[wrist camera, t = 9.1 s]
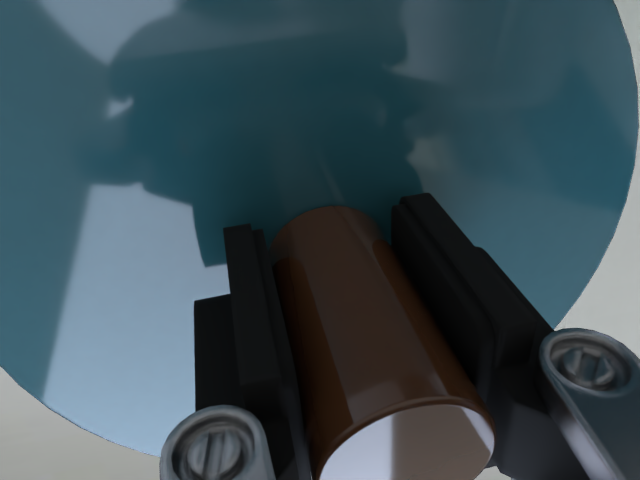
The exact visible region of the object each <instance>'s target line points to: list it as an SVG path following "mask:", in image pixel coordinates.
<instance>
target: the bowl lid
mask: <svg viewBox="0 0 640 480" xmlns="http://www.w3.org/2000/svg"><path fill="white" fill-rule="evenodd" d="M638 129H639V119H638V87H637V82H636V76H635V70H634V65H633V59H632V54H631V48H630V45H629V42H628V39H627V36H626V33H625V30H624V27H623V24H622V22H621V19H620V16H619V13H618V10H617V7H616V5H615V3H614V1H613V0H0V366H1V367H2V368H3V369H4V370H5V371H6V372H7V373H8V374H9V375H10V376H11V377H12V378H13V379H14V380H15V381H16V382H17V383H18V385H20V386H21V387H22V388H23V389H25V390H26V391H27V392H28V393H30V394H31V395H32V396H34V397H35V398H36V399H37V400H39V401H40V402H41V403H42V404H44V405H45V406H46V407H47V408H49V409H50V410H52V411H54V412H55V413H57V414H59V415H60V416H62V417H64V418H65V419H67V420H69V421H70V422H72V423H74V424H75V425H77V426H78V427H80V428H82V429H84V430H87V431H89V432H91V433H93V434H95V435H98V436H100V437H102V438H104V439H106V440H108V441H111V442H113V443H116V444H119V445H122V446H125V447H128V448H131V449H133V450H136V451H139V452H142V453H145V454H149V455H154V456H158V457H161V450H162V447H163V445H164V443H165V441H166V439H167V437H168V435H169V434H170V433H171V432H172V430H173V429H174V428H175V427H176V426H177V425H178V424H179V422H181V421H182V420H184V419H185V418H187V417H188V416H189V415H191V414H192V413H194V412H195V357H194V301H195V300H200V299H205V298H210V297H216V296H221V295H226V294H230V287H229V278H228V269H227V260H226V251H225V242H224V233H223V228H225V227H231V226H237V225H243V224H248V223H250V224H251V228H252V230H256V229H263V232H264V236H265V241H266V245H267V249H268V254H269V258H270V262H271V266H272V271H273V275H274V279H275V284H276V288H277V292H278V296H279V301H280V305H281V309H282V314H283V318H284V322H285V326H286V331H287V335H288V339H289V344H290V348H291V352H292V356H293V361H294V366H295V371H296V376H297V382H298V388H299V395H300V402H301V409H302V416H303V423H304V430H305V432H304V444H305V448H306V453H307V458H308V462H309V467H310V471H311V476H312V480H474V479H475V478H476V477H477V476H478V475H479V474H480V473H481V472H482V471H483V469H484V468H485V467H486V466H487V464H488V462H489V461H490V459H491V457H492V455H493V453H494V451H495V448H496V444H497V428H496V423H495V420H494V418H493V416H492V414H491V413H490V411H489V409H488V408H487V406H486V404H485V403H484V401H483V399H482V398H481V396H480V394H479V393H478V391H477V389H476V388H475V386H474V384H473V383H472V381H471V379H470V378H469V376H468V374H467V372H466V371H465V369H464V367H463V366H462V364H461V362H460V361H459V359H458V357H457V356H456V354H455V352H454V351H453V349H452V347H451V346H450V344H449V342H448V341H447V339H446V337H445V336H444V334H443V332H442V331H441V329H440V327H439V326H438V324H437V322H436V321H435V319H434V317H433V316H432V314H431V312H430V311H429V309H428V307H427V305H426V304H425V302H424V300H423V299H422V297H421V295H420V294H419V292H418V290H417V289H416V287H415V285H414V284H413V282H412V280H411V279H410V277H409V275H408V274H407V272H406V270H405V269H404V267H403V265H402V264H401V262H400V260H399V259H398V257H397V255H396V254H395V252H394V250H393V249H392V247H391V210H392V206H393V205H399V202H400V199H401V197H404V196H410V195H415V194H421V193H430V194H431V195H432V196H433V197H434V198H435V199H436V201H437V202H438V203H439V204H440V205H441V207H442V208H443V209H444V210H445V211H446V213H447V214H448V215H449V216H450V217H451V219H452V220H453V221H454V222H455V223H456V224H457V226H458V227H459V228H460V229H461V230H462V232H463V233H464V234H465V235H466V236H467V238H468V239H469V240H470V241H471V242H472V244H473V245H474V246H475V247H481V248H483V249H484V250H485V251H486V252H487V253H488V254H489V255H490V256H491V258H492V259H493V260H494V261H495V262H496V263H497V265H498V266H499V267H500V268H501V269H502V270H503V271H504V273H505V274H506V275H507V276H508V277H509V278H510V280H511V281H512V282H513V283H514V284H515V285H516V287H517V288H518V289H519V290H520V291H521V292H522V294H523V295H524V296H525V297H526V298H527V299H528V301H529V302H530V303H531V304H532V305H533V306H534V308H535V309H536V310H537V311H538V312H539V313H540V315H541V316H542V317H543V318H544V319H545V320H546V322H547V323H548V324H549V325H550V326H551V327H552V329H553V330H554V328H555V327H556V326H557V325H558V324H559V323H560V322H561V320H562V319H563V318H564V316H565V315H566V314H567V313H568V311H569V310H570V309H571V307H572V306H573V305H574V303H575V302H576V301H577V299H578V298H579V297H580V295H581V294H582V292H583V291H584V289H585V287H586V286H587V284H588V283H589V281H590V279H591V278H592V276H593V275H594V273H595V271H596V270H597V268H598V266H599V264H600V262H601V260H602V258H603V256H604V254H605V252H606V250H607V248H608V246H609V244H610V242H611V240H612V238H613V236H614V233H615V231H616V228H617V225H618V222H619V220H620V217H621V214H622V211H623V209H624V206H625V203H626V200H627V196H628V191H629V187H630V183H631V179H632V174H633V170H634V166H635V158H636V148H637V139H638Z"/></svg>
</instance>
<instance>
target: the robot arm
mask: <svg viewBox="0 0 640 480" xmlns="http://www.w3.org/2000/svg"><path fill="white" fill-rule="evenodd" d="M223 233H224V242H225V251H226V260H227V269H228V278H229V287H230V294H226V295H221V296H216V297H210V298H205V299H200V300H195V301H194V357H195V412H194V413H192V414H191V415H189V416H188V417H187V418H185V419H184V420H182V421H181V422H179V424H178V425H177V426H176V427H175V428H174V429H173V430H172V432H171V433H170V434H169V435H168V437H167V439H166V441H165V443H164V445H163V447H162V450H161V457H160V463H159V467H160V480H312V479H311V472H310V467H309V462H308V458H307V453H306V448H305V444H304V432H305V430H304V423H303V416H302V409H301V402H300V395H299V388H298V382H297V376H296V371H295V366H294V361H293V356H292V352H291V348H290V344H289V339H288V335H287V331H286V326H285V322H284V318H283V314H282V309H281V305H280V301H279V296H278V292H277V288H276V284H275V279H274V275H273V271H272V266H271V262H270V258H269V254H268V249H267V245H266V241H265V236H264V232H263V229H256V230H252V228H251V224H250V223H248V224H243V225H237V226H231V227H225V228H223ZM391 247H392V249H393V250H394V252H395V254H396V255H397V257H398V259H399V260H400V262H401V264H402V265H403V267H404V269H405V270H406V272H407V274H408V275H409V277H410V279H411V280H412V282H413V284H414V285H415V287H416V289H417V290H418V292H419V294H420V295H421V297H422V299H423V300H424V302H425V304H426V305H427V307H428V309H429V311H430V312H431V314H432V316H433V317H434V319H435V321H436V322H437V324H438V326H439V327H440V329H441V331H442V332H443V334H444V336H445V337H446V339H447V341H448V342H449V344H450V346H451V347H452V349H453V351H454V352H455V354H456V356H457V357H458V359H459V361H460V362H461V364H462V366H463V367H464V369H465V371H466V372H467V374H468V376H469V378H470V379H471V381H472V383H473V384H474V386H475V388H476V389H477V391H478V393H479V394H480V396H481V398H482V399H483V401H484V403H485V404H486V406H487V408H488V409H489V411H490V413H491V414H492V416H493V418H494V420H495V423H496V428H497V444H496V448H495V451H494V453H493V455H492V457H491V459H490V461H489V462H488V464H487V466H486V467H485V468H489V467H493V466H497V467H498V469H499V471H500V473H503V474H505V475H507V476H509V477H511V480H640V359H639V358H638V357H637V356H636V355H635V354H634V353H633V352H632V351H631V350H630V349H628V348H627V347H626V346H625V345H624V344H623V343H621V342H619V341H617V340H616V339H614V338H612V337H610V336H608V335H605V334H603V333H600V332H597V331H594V330H588V329H582V328H566V329H561V330H558V331H554V330H553V329H552V327H551V326H550V325H549V324H548V323H547V322H546V320H545V319H544V318H543V317H542V316H541V315H540V313H539V312H538V311H537V310H536V309H535V308H534V306H533V305H532V304H531V303H530V302H529V301H528V299H527V298H526V297H525V296H524V295H523V294H522V292H521V291H520V290H519V289H518V288H517V287H516V285H515V284H514V283H513V282H512V281H511V280H510V278H509V277H508V276H507V275H506V274H505V273H504V271H503V270H502V269H501V268H500V267H499V266H498V265H497V263H496V262H495V261H494V260H493V259H492V258H491V256H490V255H489V254H488V253H487V252H486V251H485V250H484V249H483V248H481V247H475V246H474V245H473V244H472V242H471V241H470V240H469V239H468V238H467V236H466V235H465V234H464V233H463V232H462V230H461V229H460V228H459V227H458V226H457V224H456V223H455V222H454V221H453V220H452V219H451V217H450V216H449V215H448V214H447V213H446V211H445V210H444V209H443V208H442V207H441V205H440V204H439V203H438V202H437V201H436V199H435V198H434V197H433V196H432V195H431V194H430V193H421V194H415V195H410V196H404V197H401V199H400V202H399V205H393V206H392V210H391ZM485 468H484V469H485Z"/></svg>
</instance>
